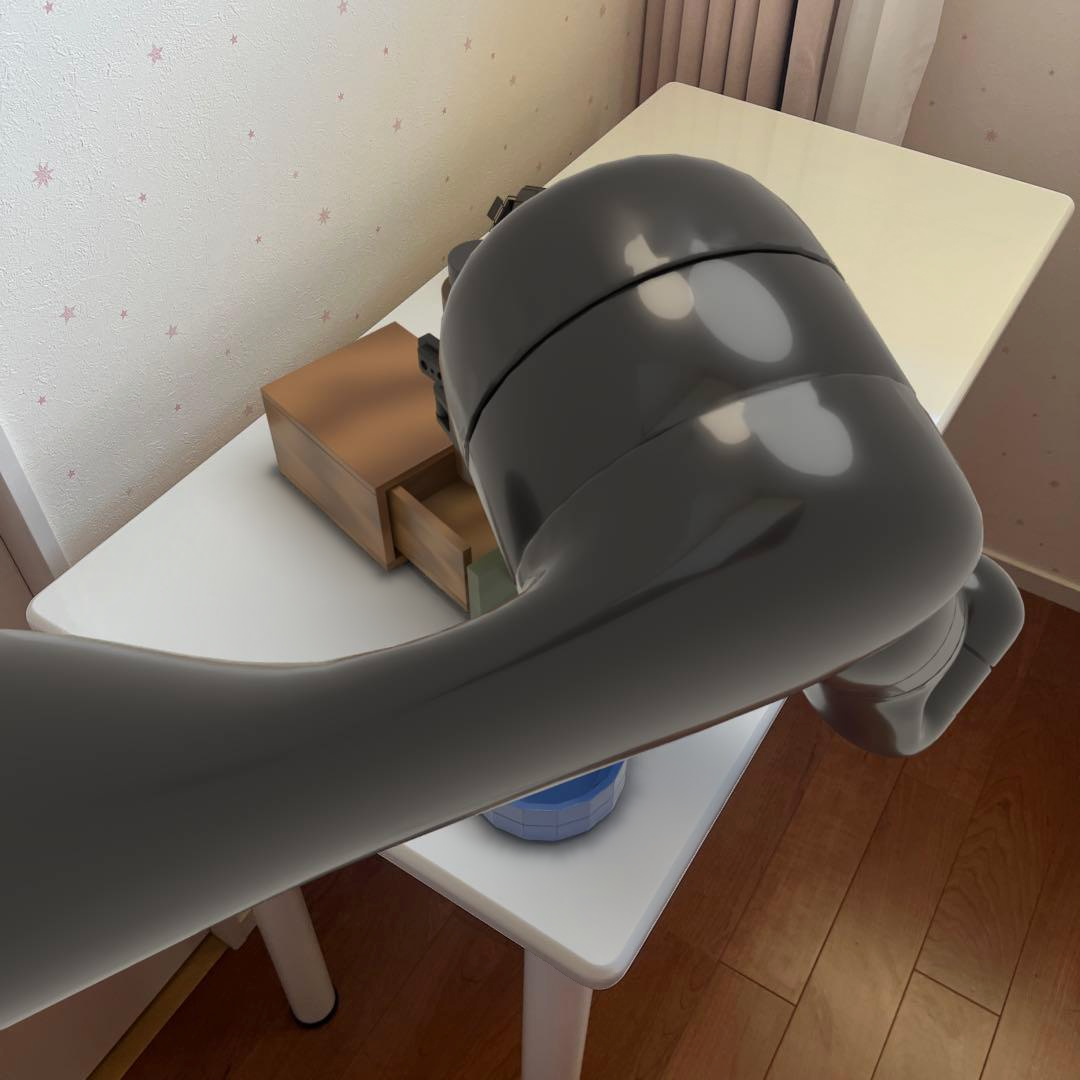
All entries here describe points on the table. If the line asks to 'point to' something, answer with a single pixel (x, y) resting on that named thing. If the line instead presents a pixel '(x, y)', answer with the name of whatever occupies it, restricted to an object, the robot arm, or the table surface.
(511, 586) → the drawer
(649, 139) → the table surface
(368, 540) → the cabinet
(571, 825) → the bowl
